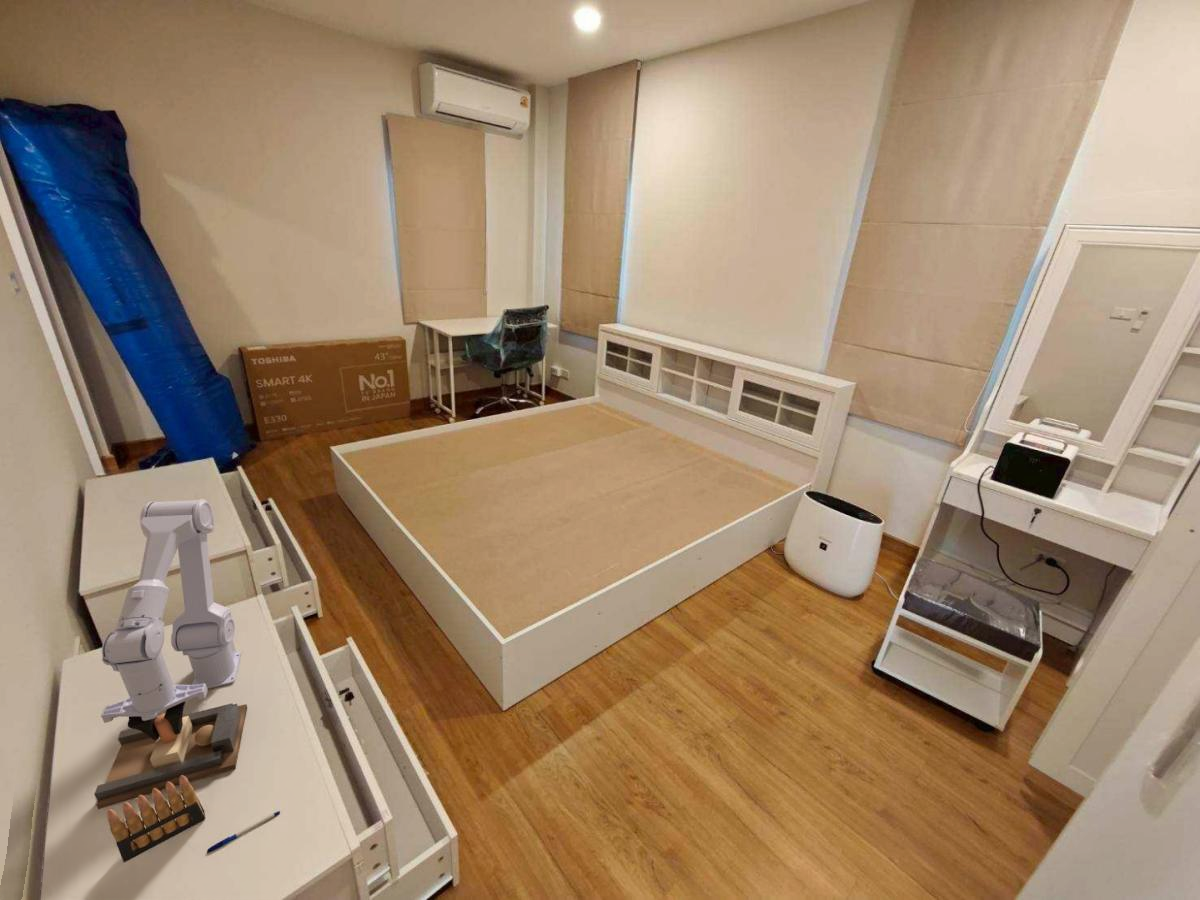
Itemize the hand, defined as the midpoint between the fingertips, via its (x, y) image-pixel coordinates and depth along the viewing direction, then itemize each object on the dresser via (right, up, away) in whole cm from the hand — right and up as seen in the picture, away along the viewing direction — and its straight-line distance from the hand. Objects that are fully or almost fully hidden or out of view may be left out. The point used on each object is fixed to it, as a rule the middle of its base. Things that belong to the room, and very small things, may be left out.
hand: (168, 732), depth 94 cm
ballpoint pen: (+20, -13, -8) cm, 25 cm away
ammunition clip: (+8, -12, -9) cm, 17 cm away
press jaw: (0, -4, +2) cm, 5 cm away
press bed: (0, -6, +3) cm, 6 cm away
